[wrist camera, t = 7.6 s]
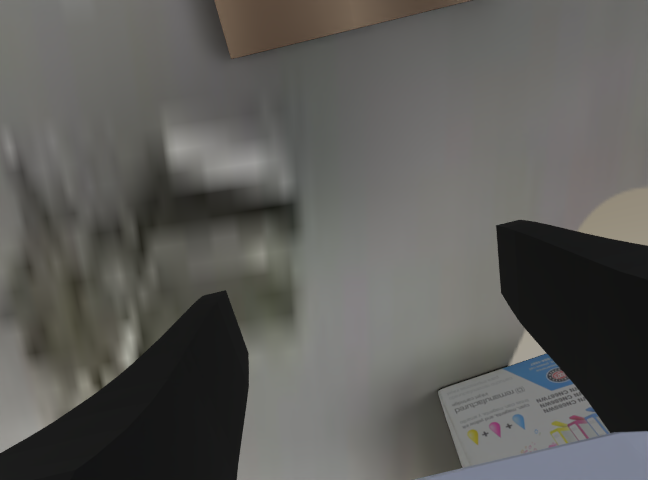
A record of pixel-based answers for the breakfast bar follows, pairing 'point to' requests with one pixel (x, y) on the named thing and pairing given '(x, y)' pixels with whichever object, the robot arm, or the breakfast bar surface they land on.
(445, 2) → the walnut base
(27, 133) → the breakfast bar surface
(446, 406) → the ink box
